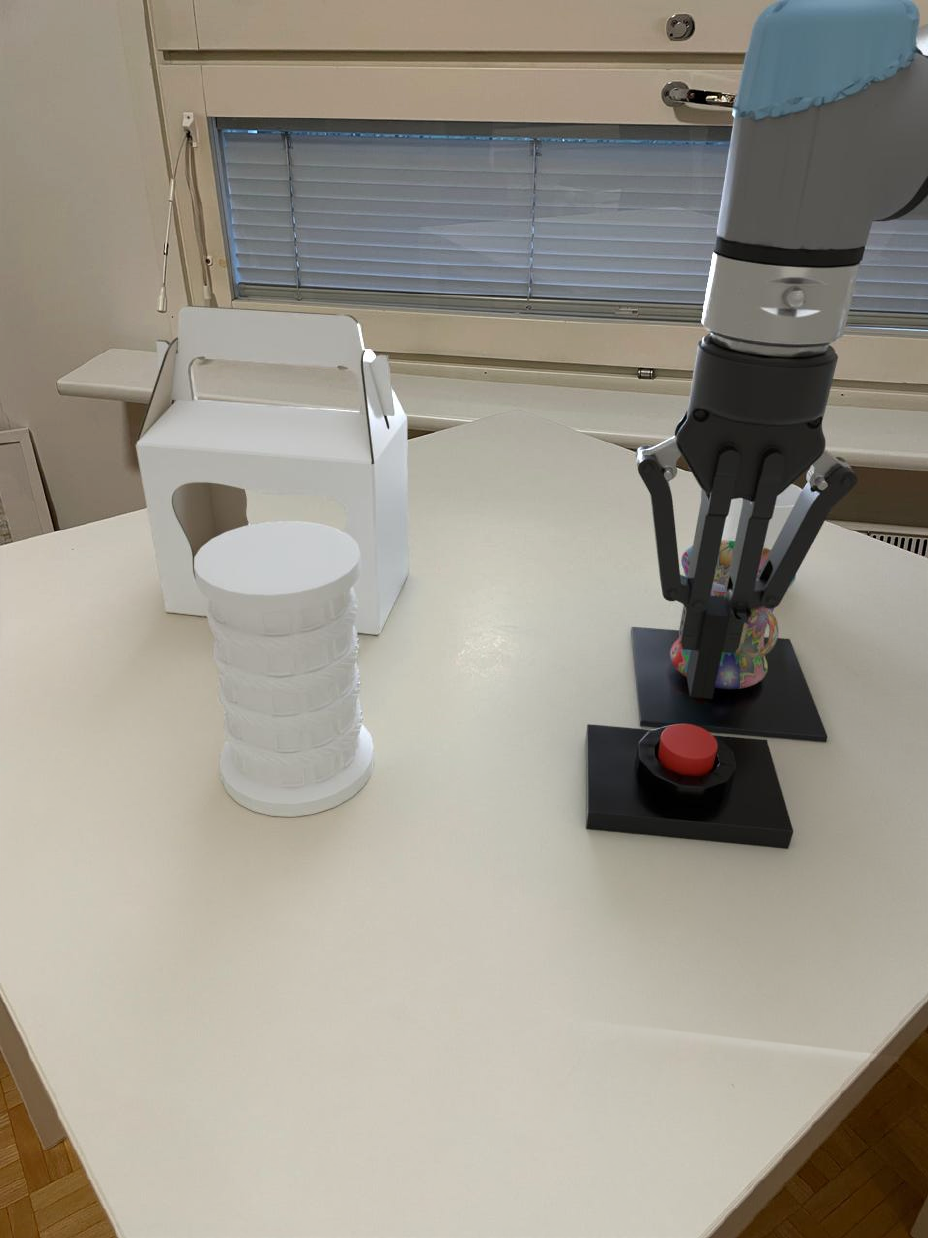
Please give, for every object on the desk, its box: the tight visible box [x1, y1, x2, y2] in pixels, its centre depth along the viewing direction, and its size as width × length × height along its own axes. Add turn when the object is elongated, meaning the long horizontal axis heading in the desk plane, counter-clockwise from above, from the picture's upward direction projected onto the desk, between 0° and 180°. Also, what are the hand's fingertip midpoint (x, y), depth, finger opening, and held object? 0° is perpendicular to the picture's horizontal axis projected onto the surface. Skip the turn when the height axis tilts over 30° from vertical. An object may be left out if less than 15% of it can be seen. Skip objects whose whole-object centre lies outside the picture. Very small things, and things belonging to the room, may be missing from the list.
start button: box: [658, 724, 718, 776], centre depth 63 cm, size 4×4×2 cm
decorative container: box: [194, 520, 375, 818], centre depth 62 cm, size 12×12×18 cm
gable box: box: [134, 304, 410, 636], centre depth 83 cm, size 22×13×28 cm, turn 81°
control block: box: [584, 723, 794, 850], centre depth 64 cm, size 14×10×4 cm
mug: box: [670, 540, 797, 689], centre depth 75 cm, size 12×9×11 cm
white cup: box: [722, 483, 803, 550], centre depth 93 cm, size 8×8×10 cm
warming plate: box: [630, 626, 829, 743], centre depth 78 cm, size 15×15×1 cm
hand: (699, 686), depth 60 cm, fingers closed
